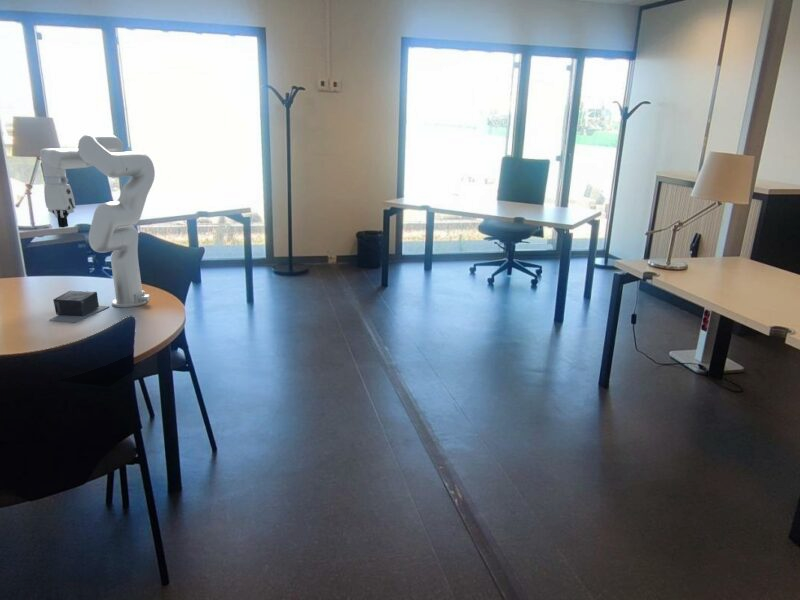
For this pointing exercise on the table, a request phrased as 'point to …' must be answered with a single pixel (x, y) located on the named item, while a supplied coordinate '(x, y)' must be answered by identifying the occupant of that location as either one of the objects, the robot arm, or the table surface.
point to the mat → (77, 318)
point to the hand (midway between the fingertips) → (63, 226)
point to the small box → (76, 303)
